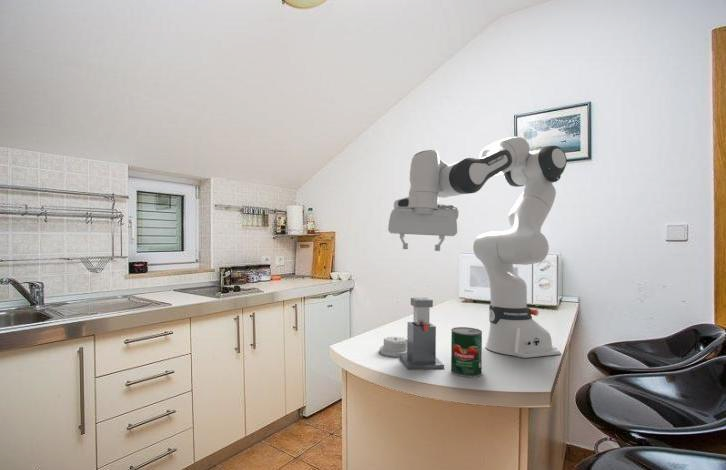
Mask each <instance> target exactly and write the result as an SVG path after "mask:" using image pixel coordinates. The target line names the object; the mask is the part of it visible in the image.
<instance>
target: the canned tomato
mask: <svg viewBox="0 0 726 470" xmlns="http://www.w3.org/2000/svg"><path fill="white" fill-rule="evenodd" d="M450 330H451V336H450V337H451V340H450V341H451V342H450V343H451V345H450V346H451V349H450V351H451V352H450V353H451V354H450V355H451V356H450V357H451V358H450V359H451V360H450V365H451V366H450V371H451V373H452V374H454V375H457V376H459V377H463V378H477V377H478V378H479V377H480V376H482V374H483V372H482V369H483V368H482V367H483V365H482V364H483V362H482V358H483V356H482V355H483V352H482V351H483V336H482V335H483V331H482V330H481V329H479V328H473V327H468V326H467V327H466V326H464V327H463V326H459V327H458V326H457V327H452V328H451V329H450Z"/></svg>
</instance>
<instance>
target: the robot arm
mask: <svg viewBox="0 0 726 470" xmlns="http://www.w3.org/2000/svg"><path fill="white" fill-rule="evenodd" d="M530 148H531V147H530V144H529V142H528V141H527V140H526V139H525V138H523V137H521V136H511V137H506V138H502V139H500V140H497V141H494V142H492V143H491V144H488V145H487V146H485V147H484V148H482V150H481V151H480V153H479V157H478V158H474V157H467V158H464V159H462V160H459V161H457V162H454V163H451V164H448V163H447V162H445V161H444V160H443V159H442V158H441V157H440V156H439V152H438V151H437V150H435V149H426V150H422V151H419V152H417V153H416V154H414V155H413V156H412V158H411V162H410V171H409V183H410V189H409V191H408V196H407V197H404V198H398V199H396V200H395V201H394V202H393V209H392V210H391V213H390V215H389V220H388V226H387V227H388V229H387V230H388V231H387V232H389V234H392V235H393V234H394V235H395V234H397V235H399V239H400V241H401V243H402V250H408V249H409V243H407V242H406V241H405V239H404V238H405V235H419V236H420V235H422V236H437V237H438V240H439V242H438V243H437V244H435V245H434V251H435V252H440V251H441V245H442V244H443V242H444V241H445V238H446V237H455V236H456V235H457V234H458V223H457V222H458V221H457V220H458V218H459V209H458V207H456V206H454V204H439V198H442V199H443V198H451V197H456V196H461V195H466V194H468V195H469V194H475V193H478V192H479V191H480V190H481V189H482V188H483V186H484V185H485V184H486V182H487V181H488V180H489V179H490V178H492V177H493V176H494V177H496V176H500V175H503V177H504V179H505V181H506V183H507V184H508V185H509V186H511V187H516V188H518V187H519V188H520V187H524V189H523V192H522V193H521V194H520V196H519V198H518V199H517V200H516V201H515V204H514V205H513V207H511V210H510V212H509V213H508V217H507V218H508V223H509V225H510V226H511V228H510V229H508V230H503V231H501V230H498V231H489V232H485V233H482V234H479V235H478V236H477V237H476V238H475V239H474V242H473V253H474V255H475V257H476V258H477V259H478V260H479V261H480V262H481V264H482V265H483V266H484V268H485V271H486V273H487V277H488V281H489V289H490V290H489V292H490V304H489V307H488V309H489V311H488V318H489V321H488V322H489V329H488V337H487V340H486V343H485V348H486V349H487V350H489V351H492V352H494V353H498V354H503V355H508V356H509V355H510V356H514V357H517V358H523V359H525V358H527V359H528V358H529V359H530V358H536V357H537V358H538V357H545V356H546V357H547V356H554V355H557V356H558V355H561V350H560V349H559V348H558V347H556V346H554V345H553V342H552V337H551V333H550V332H549V331H548V330H547V329H545V327H543V326H542V325H540V324H539V323H538V322H536V321H535V320H534V319H533V316H537V317H538V315H539V314H540V313H539V310H538V309H536V308H530V307H528V303H527V302H528V300H527V299H528V298H527V297H528V296H527V295H528V291H527V289H528V287H527V283H526V281H525V280H524V279H523V278H522V277H520V276H519V275H518V274H517V272H516V271H515V268H514V265H522V266H523V265H524V266H527V265H533V264H540V263H542V262H543V261H544V260H545V259H546V258H547V256H548V254H549V249H550V245H549V241H548V240H547V237H546V236H545V235H544V234H543V233H542V232H541V230H542V226H543V224H544V222H545V221H546V219H547V217H548V215H549V213H550V211H551V210H552V208H553V205H554V202H555V198H556V194H557V192H556V188H555V187H554V184H553V183H557V181H559V180H560V179H561V178H562V177H561V176H562V174H563V173H564V171H565V169H566V166H567V161H568V159H567V155H566V152H565V151H564V150H563V148H561V147H560V146H557V145H547V146H544V147H541V148H539V149H535V150H532V151H531V149H530Z"/></svg>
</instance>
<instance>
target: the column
mask: <svg viewBox="0 0 726 470" xmlns="http://www.w3.org/2000/svg"><path fill="white" fill-rule="evenodd" d="M433 302H434V300H433V299H431V298H429V297H410V306H412V307H413V319H412V320H413V321H412V322H413V324H414V325H415V326H422V323H428V326H429V322H430V308H433V307H434V304H433Z"/></svg>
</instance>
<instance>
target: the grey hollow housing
mask: <svg viewBox="0 0 726 470" xmlns="http://www.w3.org/2000/svg"><path fill="white" fill-rule="evenodd" d="M436 329H437V327H436V325H435V324H432V323H431V322H430V321H429V326H428V323H422V326H415V325H414V324H413V321H407V331H406V332H407V336H406V337H407V338H406V339H407V355H400V357H399V359H400V361H401V362H402V363H403V365H404V366H405V367H406V368H407V370H409V371H411V370H413V371H415V370H438V369H439V370H442V369H445V364H444V363H443V362H442V361H441V360H440V359H438V358H437V357H436V356H437V354H436V353H437V351H436V349H437V345H436V344H437V343H436V342H437V337H436V336H437V333H436V332H437V330H436Z"/></svg>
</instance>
